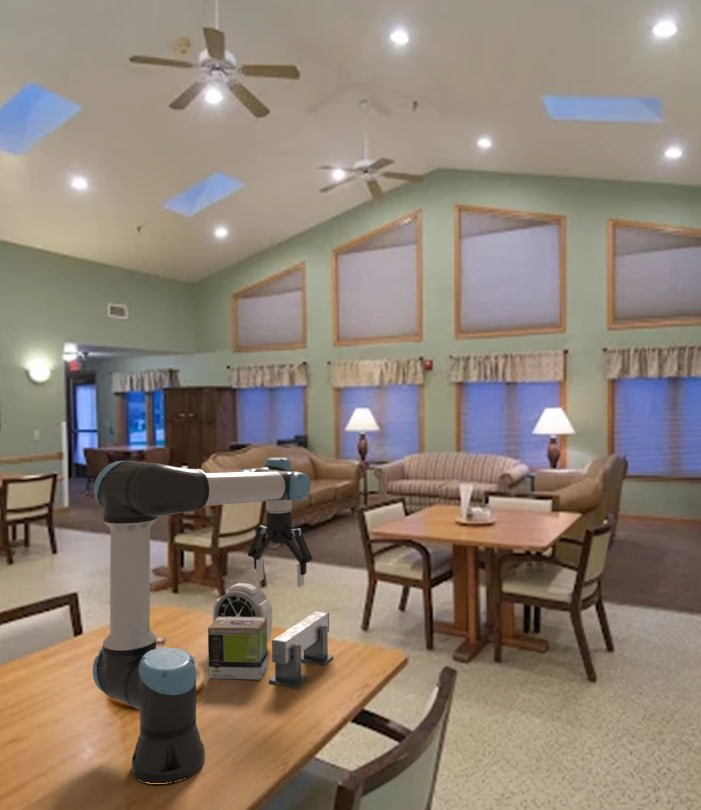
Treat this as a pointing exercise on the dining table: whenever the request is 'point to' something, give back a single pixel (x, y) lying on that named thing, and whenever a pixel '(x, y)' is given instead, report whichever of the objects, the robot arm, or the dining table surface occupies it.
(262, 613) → the alarm clock
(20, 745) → the dining table surface
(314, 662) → the post
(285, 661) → the rail
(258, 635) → the tea box
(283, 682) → the post
